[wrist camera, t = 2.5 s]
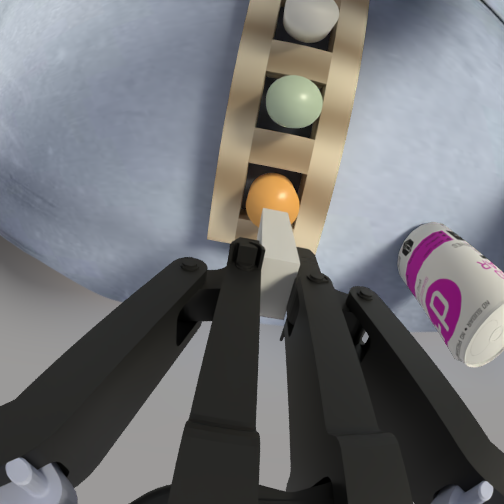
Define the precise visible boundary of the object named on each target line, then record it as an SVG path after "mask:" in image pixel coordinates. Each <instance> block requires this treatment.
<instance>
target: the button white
mask: <svg viewBox="0 0 504 504" xmlns="http://www.w3.org/2000/svg"><path fill="white" fill-rule="evenodd" d="M338 18H339V9H338V6H337V4H336V3H335V1H334V0H286V3H285V10H284V16H283V26H284V29H285V30H286V32H287V33H288V34H289V35H290V36H291V37H292V38H294V39H296V40H298V41H301V42H305V43H314V42H318V41H321V40H323V39H324V38H325V37H326V36H327V35H328V33H329V32H330V31H331V29H332V28H333V26H334V25H335V24H336V22H337V21H338Z"/></svg>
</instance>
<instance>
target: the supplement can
mask: <svg viewBox="0 0 504 504" xmlns="http://www.w3.org/2000/svg"><path fill="white" fill-rule="evenodd" d="M397 266H398V271H399V275H400V276H401V278H402V279H403V281H404V282H405V283H406V285H407V286H408V288H409V289H410V290H411V292H412V293H413V295H414V296H415V298H416V299H417V300H418V302H419V303H420V305H421V306H422V308H423V309H424V311H425V312H426V314H427V315H428V317H429V318H430V320H431V321H432V323H433V324H434V326H435V328H436V329H437V331H438V332H439V334H440V335H441V337H442V339H443V340H444V342H445V344H446V345H447V347H448V349H449V350H450V352H451V354H452V355H453V357H454V359H456V360H459V361H461V362H463V363H466V365H467V366H469V367H472V368H475V367H480V366H482V365H485V364H487V363H488V362H490V361H492V360H493V359H494V358H496V357H497V356H498V355H499V354H501V353H502V352H503V350H504V273H503V272H502V271H501V270H500V269H499V268H497V267H496V266H495V265H494V264H493V263H492V262H490V261H489V260H488V259H487V258H486V257H485V256H483V255H482V254H481V253H480V252H478V251H477V250H476V249H475V248H474V247H472V246H471V245H470V244H469V243H467V242H466V241H465V240H463V239H462V238H461V237H459V236H458V235H457V234H456V233H454V232H453V231H451V230H450V229H449V228H447V227H446V226H445V225H443V224H441V223H436V222H430V223H426V224H422V225H421V226H419V227H418V228H416V229H415V230H413V231H412V232H411V233H410V235H409V236H408V237H407V238H406V239H405V241H404V242H403V245H402V247H401V249H400V251H399V255H398V262H397Z"/></svg>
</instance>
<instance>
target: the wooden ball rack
mask: <svg viewBox="0 0 504 504" xmlns="http://www.w3.org/2000/svg"><path fill="white" fill-rule="evenodd" d="M334 1H335V3H336V4H337V6H338V9H339V18H338V21H337V22H336V24H335V25H334V26H333V28H332V29H331V33H330V39H329V45H328V50H327V51H323V50H320V49H316V48H312V47H307V46H303V45H299V44H294V43H289V42H284V41H279V40H274V36H275V31H276V26H277V22H278V17H279V13H280V8H281V7H285V3H286V0H250V3H249V7H248V11H247V15H246V19H245V23H244V28H243V32H242V36H241V41H240V45H239V50H238V55H237V59H236V64H235V69H234V74H233V79H232V84H231V89H230V94H229V100H228V105H227V110H226V116H225V121H224V127H223V133H222V139H221V145H220V151H219V157H218V164H217V170H216V177H215V183H214V190H213V197H212V204H211V212H210V219H209V227H208V235H207V239H208V240H214V241H219V242H225V243H230V244H231V242H232V241H235V240H236V239H237V238H239V237H243V238H248V239H254V240H257V235H258V230H259V227H257V226H256V225H255V224H253V223H252V221H251V220H250V218H249V217H248V214H247V211H246V209H241V207H242V202H243V196H244V191H245V185H246V179H247V174H248V168H249V163H254V164H259V165H265V166H270V167H275V168H280V169H285V170H289V171H294V172H299V173H302V176H301V181H300V185H299V189H298V194H297V196H298V199H299V205H300V206H299V213H298V216H297V218H296V219H295V221H294V222H293V223H292V224H291V227H292V231H293V235H294V239H295V243H296V247H301V248H306V249H309V250H311V251H312V252H313V253H314V254H316V250H317V247H318V244H319V240H320V237H321V233H322V230H323V226H324V223H325V219H326V216H327V212H328V208H329V205H330V201H331V197H332V193H333V189H334V186H335V182H336V178H337V174H338V170H339V166H340V161H341V157H342V153H343V149H344V144H345V140H346V136H347V131H348V127H349V122H350V117H351V112H352V107H353V102H354V97H355V92H356V87H357V82H358V76H359V70H360V65H361V59H362V52H363V46H364V39H365V32H366V25H367V17H368V9H369V0H334ZM288 75H297V76H302V77H305V78H307V79H309V80H310V81H312V82H313V83H314V84H315V85H316V86H317V88H320V93H321V95H322V100H323V106H322V111H321V113H320V115H319V117H318V118H317V119H316V120H315V121H314V122H313V126H312V131H311V136H310V138H306V137H301V136H297V135H292V134H288V133H283V132H278V131H273V130H268V129H262V128H257V127H256V126H257V120H258V115H259V110H260V105H261V100H262V95H263V90H264V85H265V80H266V77H270V78H275V79H279V78H281V77H284V76H288Z"/></svg>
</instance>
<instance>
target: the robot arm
mask: <svg viewBox="0 0 504 504" xmlns="http://www.w3.org/2000/svg"><path fill="white" fill-rule="evenodd" d="M286 310H287V319H286V322H285V325H284V328H283V331H282V335H281V337H280V341H282V340H283V337H285V349H286V366H287V383H288V384H287V385H288V405H289V429H290V460H291V472H290V477H289V480H288V483H287V487H286V492H285V491H281V490H277V489H273V488H269V487H265V486H262V485H259V464H260V463H259V462H260V436H259V433H258V432H257V431H256V405H257V380H258V354H259V326H260V316H262V317H268V318H275V319H281V320H284V317H285V313H286ZM202 321H212V325H211V329H210V333H209V337H208V341H207V345H206V350H205V353H204V357H203V362H202V366H201V370H200V374H199V378H198V383H197V387H196V391H195V395H194V400H193V404H192V408H191V413H190V417H189V420H188V421H187V422H186V424H185V427H184V431H183V435H182V440H181V444H180V448H179V453H178V457H177V461H176V466H175V471H174V475H173V480H172V484H171V485H166V486H163V487H160V488H157V489H155V490H152V491H150V492H148V493H146V494H144V495H143V496H141V497H139V498H138V499H136V500H134V501H133V502H131V503H129V504H413V502H414V503H415V504H504V453H503V452H502V451H501V450H499V449H498V448H497V447H496V446H495V445H494V444H493V443H491V442H490V440H489V439H488V437H487V436H486V434H485V433H484V431H483V430H482V428H481V427H480V425H479V424H478V422H477V421H476V419H475V418H474V416H473V415H472V413H471V412H470V411H469V409H468V408H467V406H466V405H465V403H464V402H463V401H462V399H461V398H460V397H459V395H458V394H457V392H456V391H455V390H454V388H453V387H452V386H451V384H450V383H449V382H448V380H447V379H446V378H445V376H444V375H443V374H442V372H441V371H440V370H439V369H438V367H437V366H436V365H435V363H434V362H433V361H432V360H431V358H430V357H429V356H428V355H427V353H426V352H425V351H424V349H423V348H422V347H421V346H420V345H419V343H418V342H417V341H416V340H415V339H414V337H413V336H412V335H411V334H410V332H409V331H408V330H407V329H406V328H405V326H404V325H403V324H402V323H401V322H400V320H399V319H398V318H397V317H396V316H395V315H394V313H393V312H392V311H391V310H390V309H389V308H388V306H387V305H386V304H385V303H384V302H383V301H382V300H381V298H380V297H379V296H378V295H377V294H376V293H375V292H373V291H371V290H370V289H369V288H366V287H360V286H355V287H352V288H351V289H350V291H349V294H346V293H343V292H340V291H338V290H335V289H334V287H333V284H332V281H331V280H330V278H329V277H327V276H326V275H324V274H322V273H321V272H320V269H319V266H318V263H317V260H316V257H315V254H314V253H313V252H312V251H311V250H309V249H306V248H301V247H296V243H295V239H294V235H293V231H292V227H291V223H290V219H289V215H288V213H287V212H282V211H277V210H272V209H267V208H263V210H262V215H261V220H260V225H259V230H258V235H257V240H254V239H248V238H243V237H239V238H237V239H236V240H235V241H232V242H231V244H230V249H229V256H228V262H227V266H226V267H225V268H222V269H218V270H207V265H206V264H205V263H204V262H203V261H201V260H199V259H195V258H192V257H189V258H188V257H184V258H179V259H177V260H175V261H173V262H172V263H171V264H169V265H168V266H167V267H166V268H164V269H163V270H162V271H161V272H159V273H158V274H157V275H156V276H154V277H153V278H152V279H151V280H150V281H148V282H147V283H146V284H145V285H143V286H142V287H141V288H140V289H139V290H137V291H136V292H135V293H134V294H132V295H131V296H130V297H129V298H128V299H126V300H125V301H124V302H123V303H122V304H121V305H119V306H118V307H117V308H116V309H115V310H113V311H112V312H111V313H110V314H109V315H108V316H106V317H105V318H104V319H103V320H102V321H100V322H99V323H98V324H97V325H96V326H95V327H93V328H92V329H91V330H90V331H89V332H88V333H87V334H86V335H84V336H83V337H82V338H81V339H80V340H79V341H78V342H76V343H75V344H74V345H73V346H72V347H71V348H70V349H68V350H67V351H66V352H65V353H64V354H63V355H62V356H61V357H60V358H59V359H57V360H56V361H55V362H54V363H53V364H52V365H51V366H50V367H49V368H48V369H47V370H45V371H44V372H43V373H42V374H41V375H40V376H39V377H38V378H37V379H36V380H35V381H34V382H33V383H32V384H31V385H30V386H29V387H27V388H26V389H25V390H24V391H23V392H22V393H21V394H20V395H19V396H18V397H17V398H16V399H15V400H13V401H11V402H9V403H6V404H4V405H2V406H0V504H77V495H76V491H75V490H74V488H75V487H76V486H78V485H79V484H80V483H81V482H83V481H84V480H85V479H86V478H87V477H88V476H89V475H90V474H91V473H92V472H93V471H94V470H95V468H96V467H97V466H98V465H99V464H100V462H101V461H102V460H103V458H104V457H105V456H106V454H107V453H108V451H109V450H110V449H111V447H112V446H113V445H114V443H115V442H116V441H117V439H118V438H119V436H120V435H121V434H122V432H123V431H124V430H125V428H126V427H127V426H128V424H129V423H130V422H131V420H132V419H133V418H134V416H135V415H136V413H137V412H138V411H139V409H140V408H141V407H142V405H143V404H144V403H145V401H146V400H147V398H148V397H149V396H150V394H151V393H152V392H153V390H154V389H155V388H156V386H157V385H158V384H159V382H160V381H161V379H162V378H163V377H164V375H165V374H166V373H167V371H168V370H169V369H170V367H171V366H172V364H173V363H174V361H175V360H176V359H177V358H178V356H179V355H180V353H181V352H182V351H183V349H184V348H185V347H186V345H187V344H188V343H189V341H190V340H191V338H192V337H193V336H194V334H195V333H196V332H197V330H198V329H199V327H200V326H201V323H202ZM365 331H366V332H367V333H368V335H369V338H368V340H367V342H366V343H364V342H363V341H362V337H363V335H364V333H365Z"/></svg>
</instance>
